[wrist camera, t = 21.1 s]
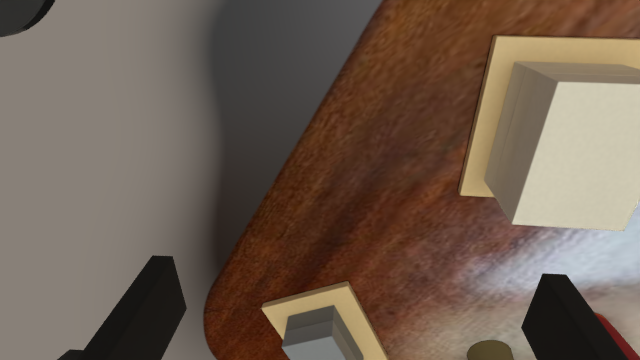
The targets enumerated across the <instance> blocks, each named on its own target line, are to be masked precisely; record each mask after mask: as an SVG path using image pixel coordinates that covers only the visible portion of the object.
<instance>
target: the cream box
mask: <svg viewBox="0 0 640 360" xmlns="http://www.w3.org/2000/svg"><path fill="white" fill-rule="evenodd" d="M539 73H560V74H591V75H623V76H640V39H632V38H591V37H550V36H509V35H494V36H493V39H492V43H491V48H490V52H489V56H488V61H487V65H486V70H485V74H484V78H483V83H482V87H481V92H480V96H479V100H478V105H477V109H476V113H475V118H474V122H473V127H472V131H471V135H470V140H469V144H468V149H467V153H466V157H465V162H464V166H463V171H462V175H461V179H460V184H459V188H458V192H459V194H460V195H464V196H481V197H495V198H496V200H497V201H498V203H499V204H500V203H501V200H502V196H503V193H504V190H505V186H506V183H507V180H508V176H509V173H510V170H511V166H512V163H513V159H514V156H515V153H516V149H517V146H518V143H519V139H520V136H521V133H522V129H523V126H524V123H525V119H526V116H527V113H528V109H529V106H530V103H531V99H532V96H533V93H534V89H535V86H536V83H537V79H538V76H539Z"/></svg>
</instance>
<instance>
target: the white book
mask: <svg viewBox="0 0 640 360" xmlns="http://www.w3.org/2000/svg"><path fill="white" fill-rule="evenodd" d="M639 200H640V76H623V75H591V74H560V73H539V76H538V79H537V83H536V86H535V89H534V93H533V96H532V99H531V103H530V106H529V109H528V113H527V116H526V119H525V123H524V126H523V129H522V133H521V136H520V139H519V143H518V146H517V149H516V153H515V156H514V159H513V163H512V166H511V170H510V173H509V176H508V180H507V183H506V186H505V190H504V193H503V196H502V200H501V203H500V207H501V208H502V210H503V212H504V213H505V215H506V216H507V218H508V219H509V221H510V222H511V224H516V225H532V226H548V227H564V228H580V229H596V230H612V231H624V229H625V228H626V226H627V224H628V222H629V220H630V218H631V216H632V214H633V212H634V210H635V208H636V206H637V204H638V202H639Z"/></svg>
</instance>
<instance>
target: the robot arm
mask: <svg viewBox="0 0 640 360" xmlns="http://www.w3.org/2000/svg"><path fill="white" fill-rule="evenodd" d="M185 311H186V304H185V300H184V297H183V293H182V289H181V286H180V282H179V279H178V275H177V271H176V268H175V264H174V260H173V257H172V256H152V257H151V258H150V260H149V261H148V262H147V264H146V265H145V267H144V268H143V269H142V271H141V272H140V273H139V275H138V276H137V278H136V279H135V280H134V282H133V283H132V284H131V286H130V287H129V289H128V290H127V291H126V293H125V294H124V296H123V297H122V298H121V300H120V301H119V302H118V304H117V305H116V306H115V308H114V309H113V310H112V312H111V313H110V315H109V316H108V317H107V319H106V320H105V321H104V323H103V324H102V326H101V327H100V328H99V330H98V331H97V332H96V334H95V335H94V337H93V338H92V339H91V341H90V342H89V343H88V345H87V346H86V348H85V349H84V350H69V351H67V352H66V353H65V354H64V355H62V356H61V357H60V358H59V359H57V360H161V359H162V357H163V355H164V353H165V351H166V349H167V347H168V344H169V343H170V341H171V339H172V337H173V335H174V333H175V331H176V329H177V327H178V325H179V323H180V321H181V319H182V317H183V315H184V313H185ZM521 328H522V330H523V332H524V334H525V336H526V338H527V340H528V342H529V344H530V346H531V348H532V350H533V352H534V354H535V356H536V359H537V360H629V359H628V358H627V356H626V355H625V354H624V352H623V351H622V350H621V348H620V347H619V346H618V344H617V343H616V342H615V340H614V339H613V338H612V336H611V335H610V333H609V332H608V331H607V329H606V328H605V327H604V325H603V324H602V323H601V321H600V320H599V319H598V317H597V316H596V315H595V313H594V312H593V311H592V309H591V308H590V306H589V305H588V304H587V302H586V301H585V300H584V298H583V297H582V296H581V294H580V293H579V292H578V290H577V289H576V288H575V286H574V285H573V283H572V282H571V281H570V279H569V278H568V277H567V275H562V274H542V277H541V279H540V282H539V284H538V287H537V289H536V292H535V294H534V297H533V299H532V302H531V304H530V307H529V309H528V312H527V314H526V317H525V319H524V322H523V324H522V327H521Z"/></svg>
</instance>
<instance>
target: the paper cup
mask: <svg viewBox="0 0 640 360" xmlns="http://www.w3.org/2000/svg"><path fill="white" fill-rule="evenodd" d="M595 315H596V316H597V317H598V319H599V320H600V321H601V323H602V324H603V325H604V327H605V328H606V329H607V331H608V332H609V333H610V335H611V336H612V338H613V339H614V340H615V342H616V343H617V344H618V346H619V347H620V348H621V350H622V351H623V352H624V354H625V355H626V356H627V358H628V359H629V360H640V357H639V356H638V355H637V353H636V352H635V351H634V350H633V349H632V348H631V346H630V345H629V344H628V343H627V342H626V341H625V340H624V338H623V337H622V336H621V335H620V334H619V333H618V331H617V330H616V329H615V328H614V327H613V326H612V325H611V324H610V323H609V321H608V320H607V319H606V318H605V317H603V316H602V315H600V314H597V313H595Z"/></svg>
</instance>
